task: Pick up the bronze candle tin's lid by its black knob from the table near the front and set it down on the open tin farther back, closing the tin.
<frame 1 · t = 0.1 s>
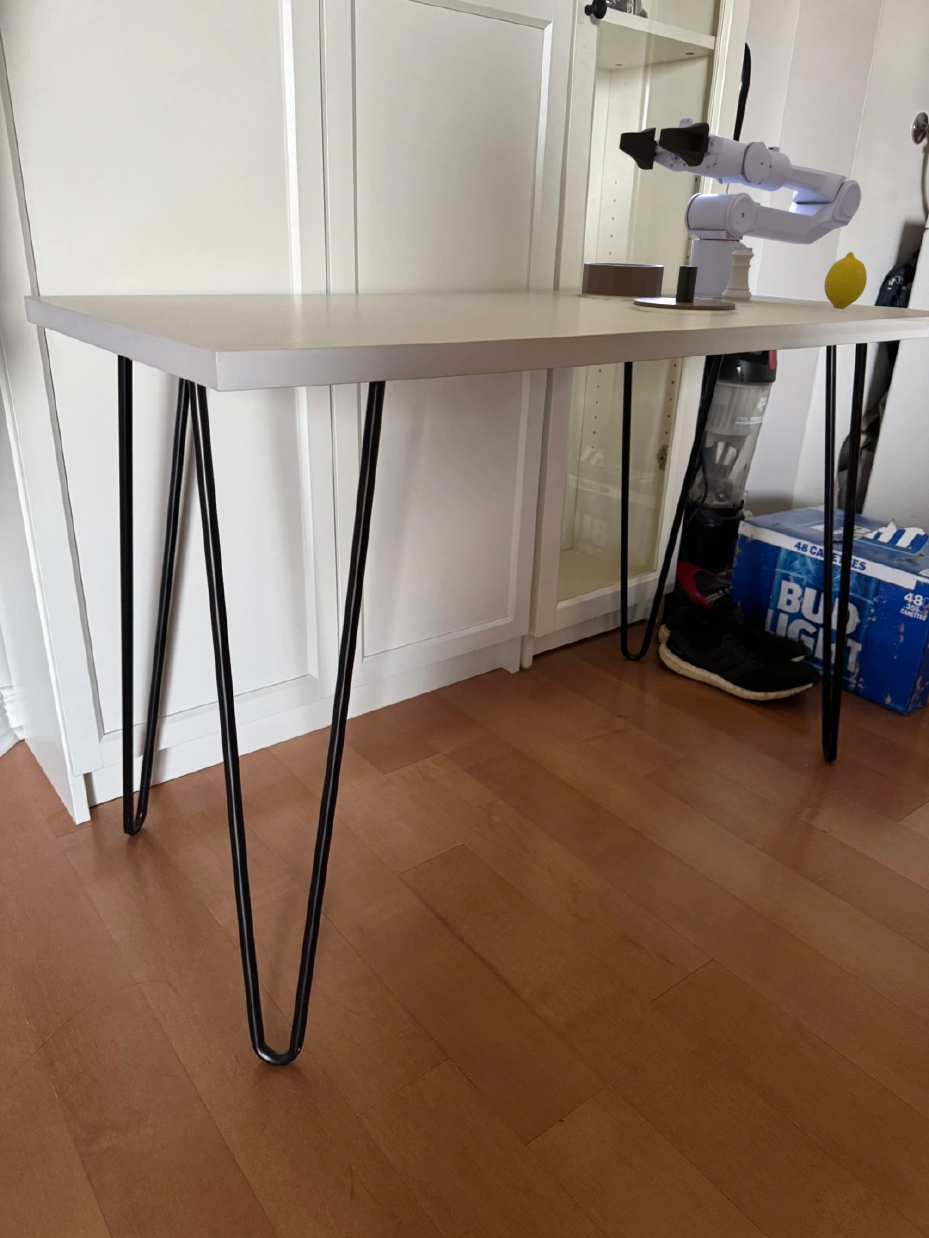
hand: (641, 139, 126), 22 cm above the table, tool horizontal, fingers open, 7 cm apart
tin lid: (683, 305, 120), point 1 cm above the table
rook chess piece: (734, 307, 132), on the table
fruit: (839, 312, 129), on the table
tin: (620, 297, 140), on the table
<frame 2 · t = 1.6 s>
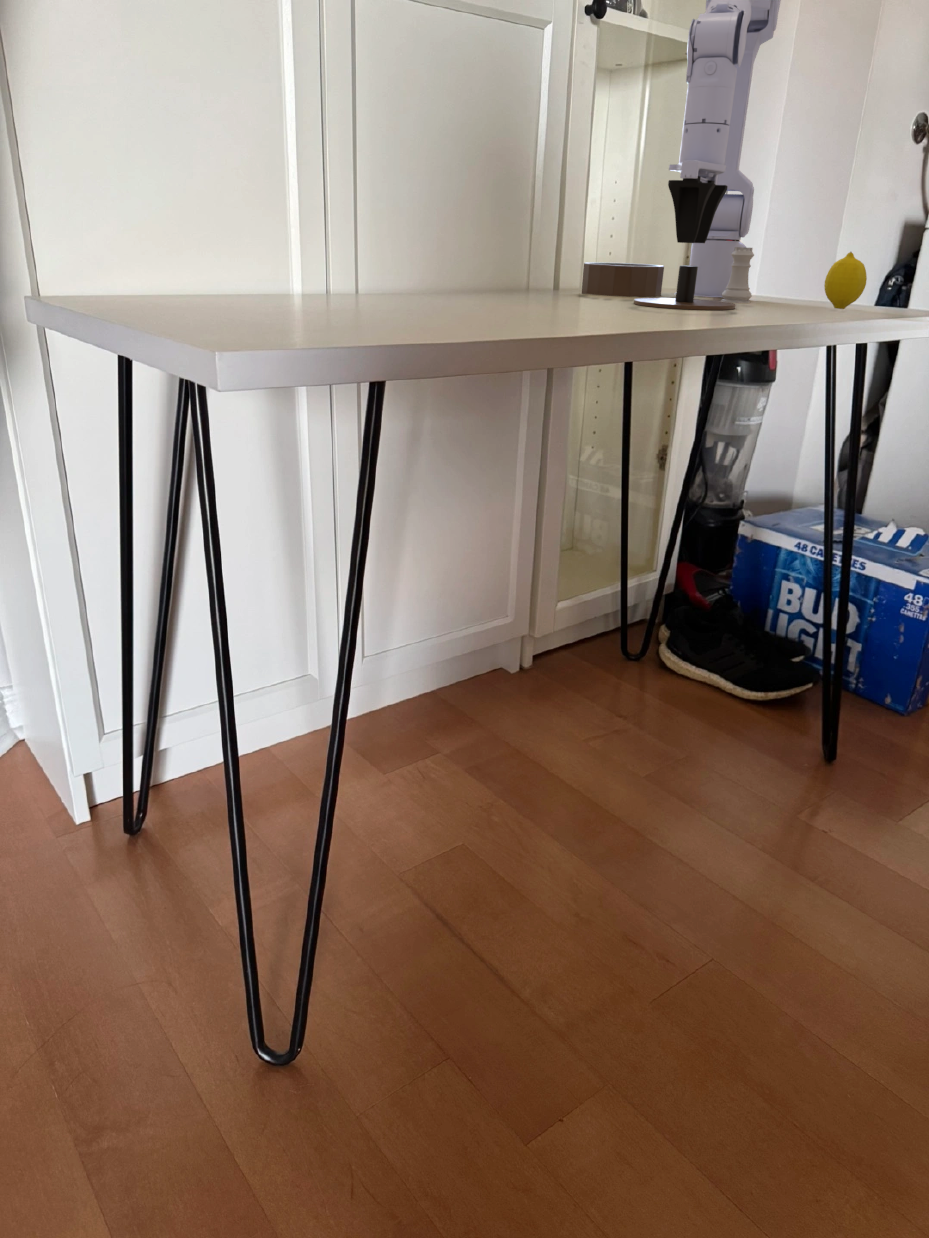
hand: (691, 243, 117), 8 cm above the table, tool pointing down, fingers open, 7 cm apart
nothing on the table moved.
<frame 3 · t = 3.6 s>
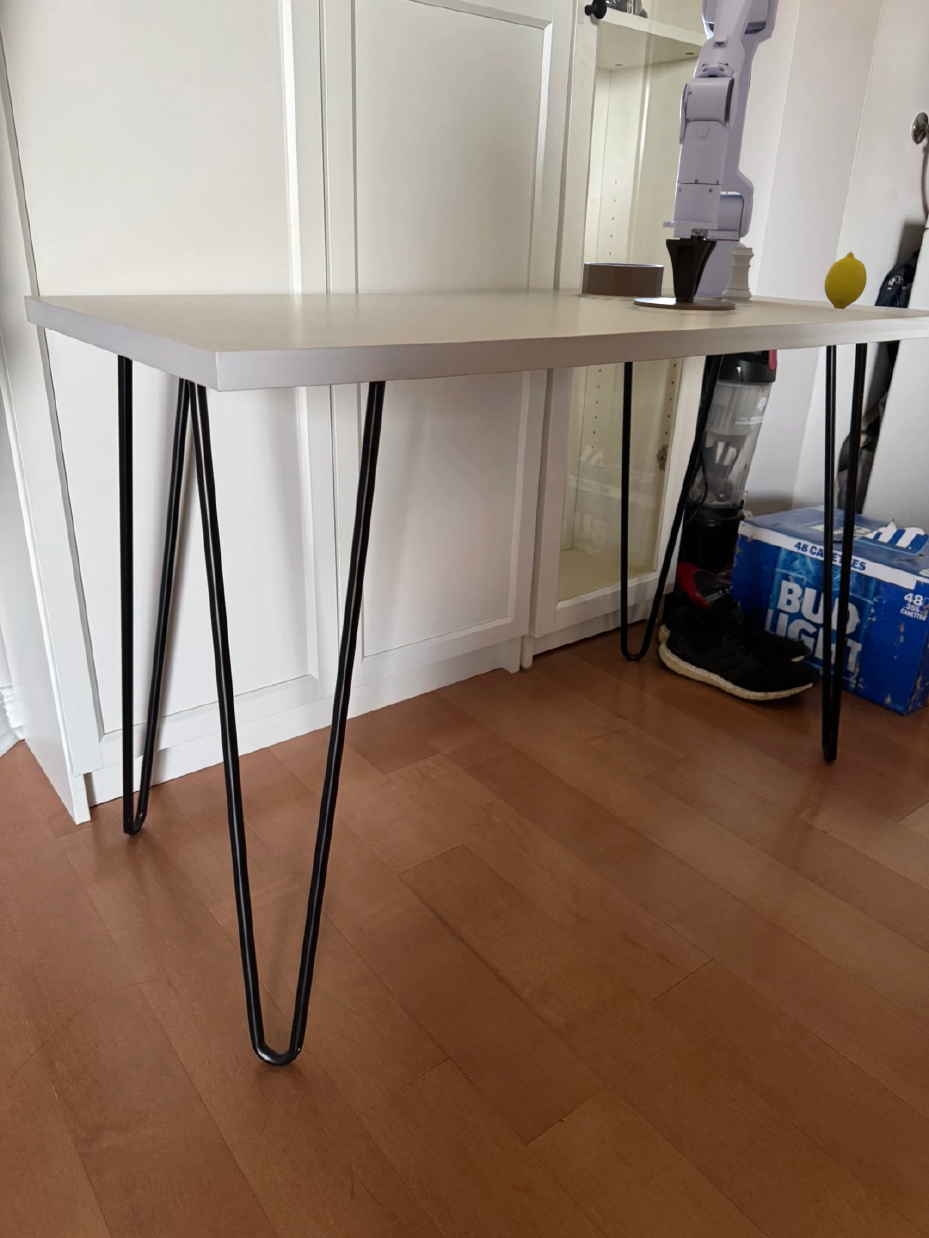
hand: (684, 297, 119), 2 cm above the table, tool pointing down, fingers closed on tin lid, 2 cm apart
tin lid: (683, 305, 120), point 1 cm above the table, touching gripper
everything else where it was.
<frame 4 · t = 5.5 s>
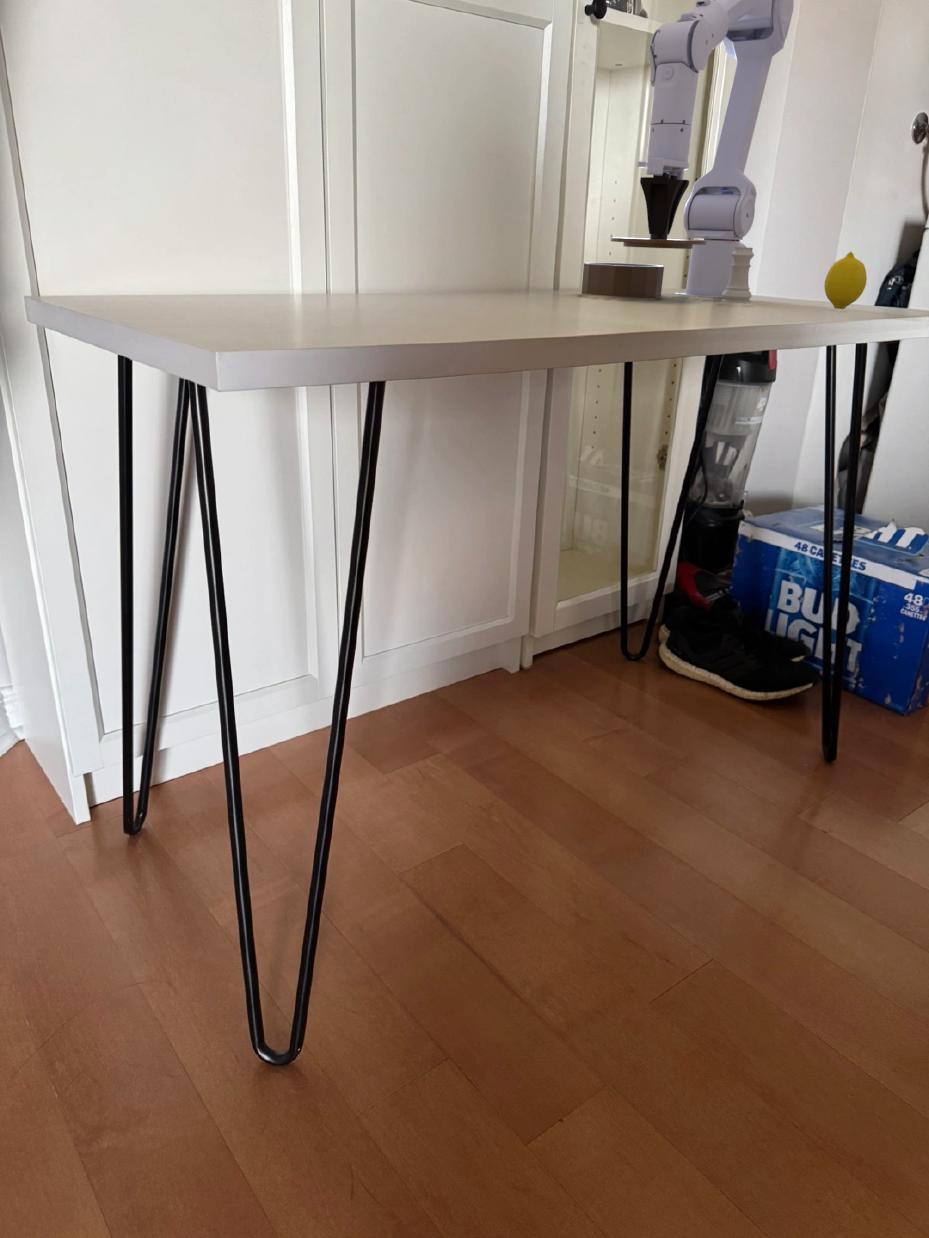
hand: (659, 234, 126), 9 cm above the table, tool pointing down, fingers closed on tin lid, 2 cm apart
tin lid: (658, 243, 126), point 8 cm above the table, touching gripper
everything else where it was.
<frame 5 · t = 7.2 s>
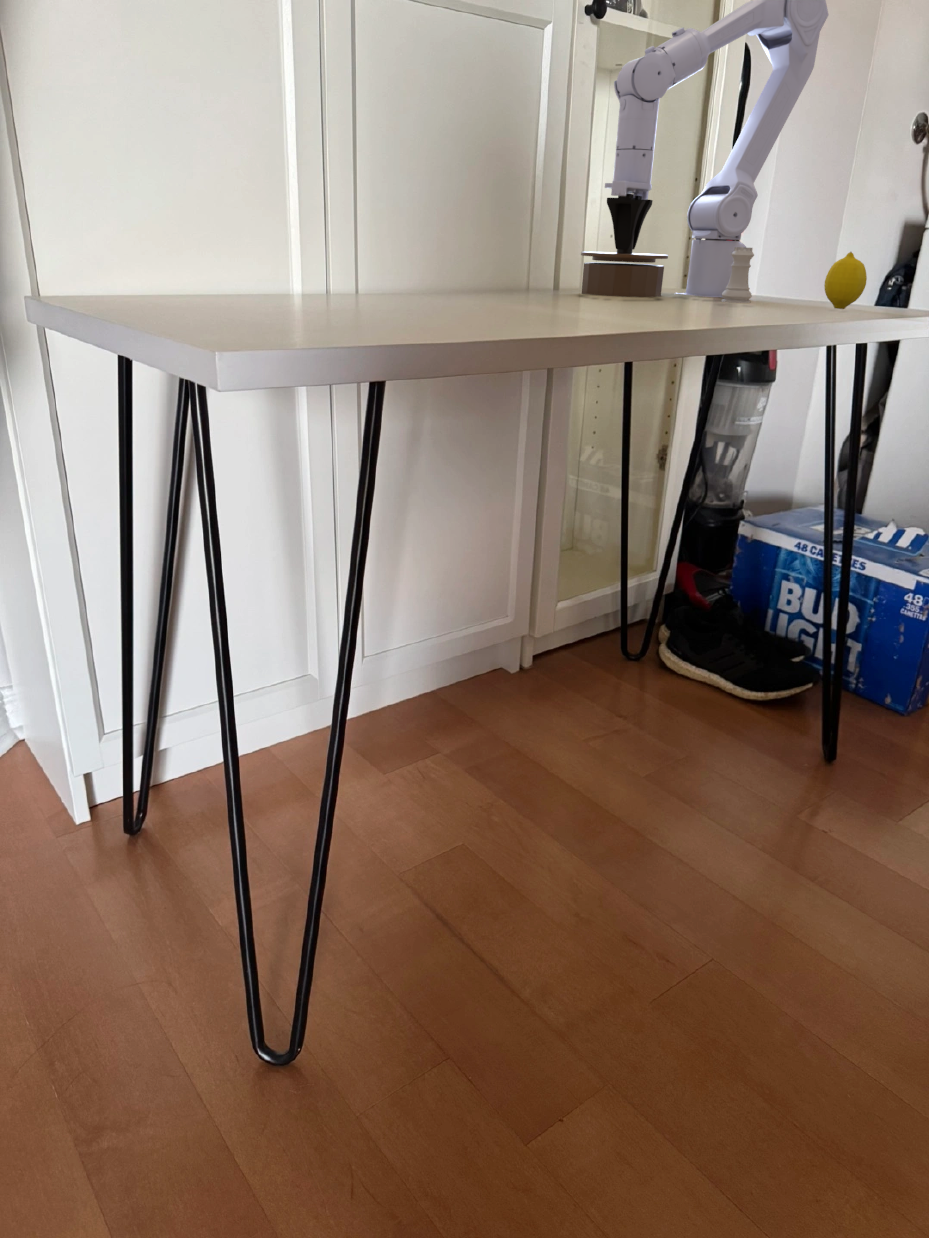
hand: (625, 249, 138), 7 cm above the table, tool pointing down, fingers closed on tin lid, 2 cm apart
tin lid: (624, 257, 138), point 6 cm above the table, touching gripper
everything else where it was.
when the fingers open (6 cm above the table, at t = 7.8 s): tin lid stays where it is, resting on tin.
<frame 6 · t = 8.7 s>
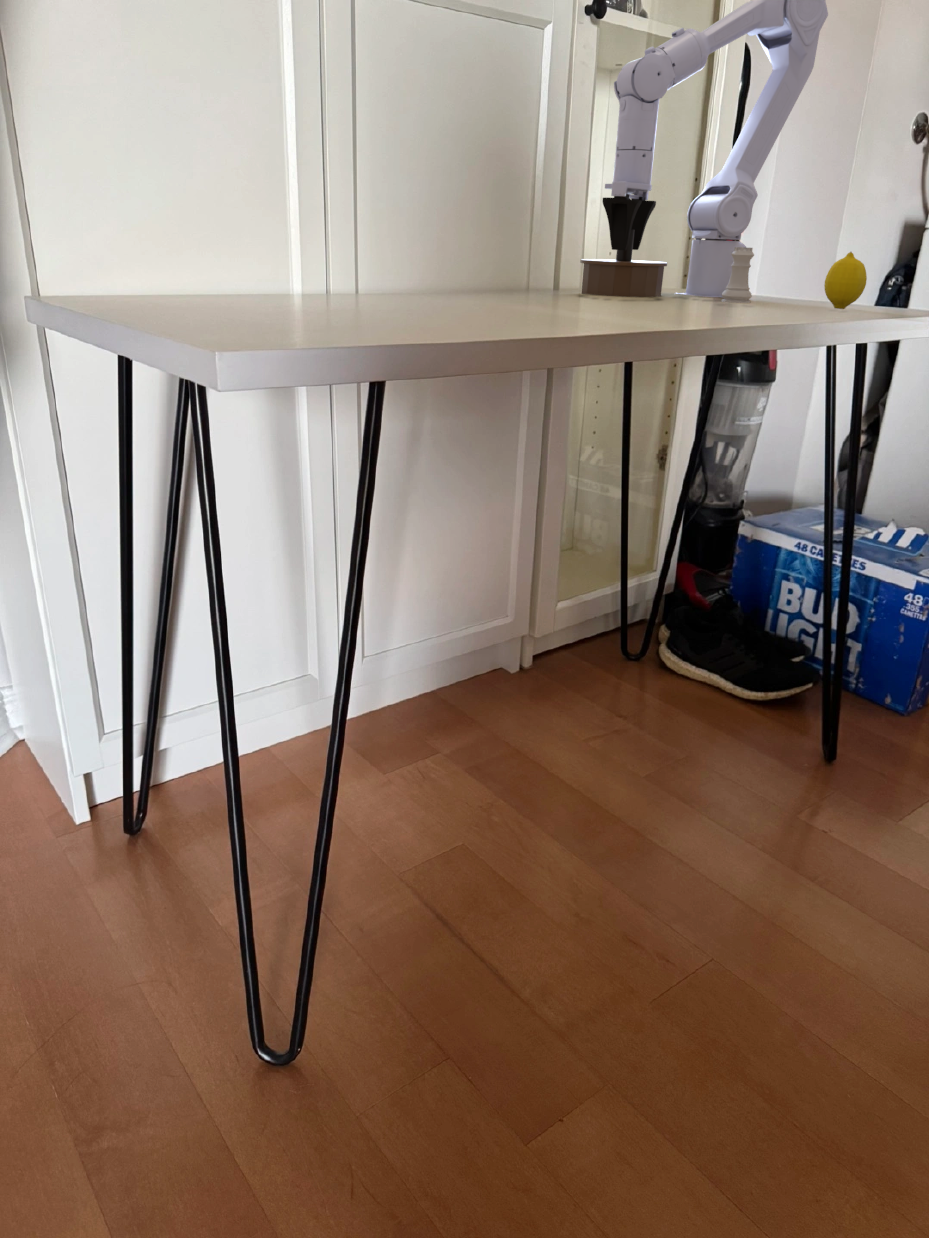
hand: (625, 250, 138), 7 cm above the table, tool pointing down, fingers open, 7 cm apart
tin lid: (623, 264, 138), point 5 cm above the table, touching tin
everything else where it was.
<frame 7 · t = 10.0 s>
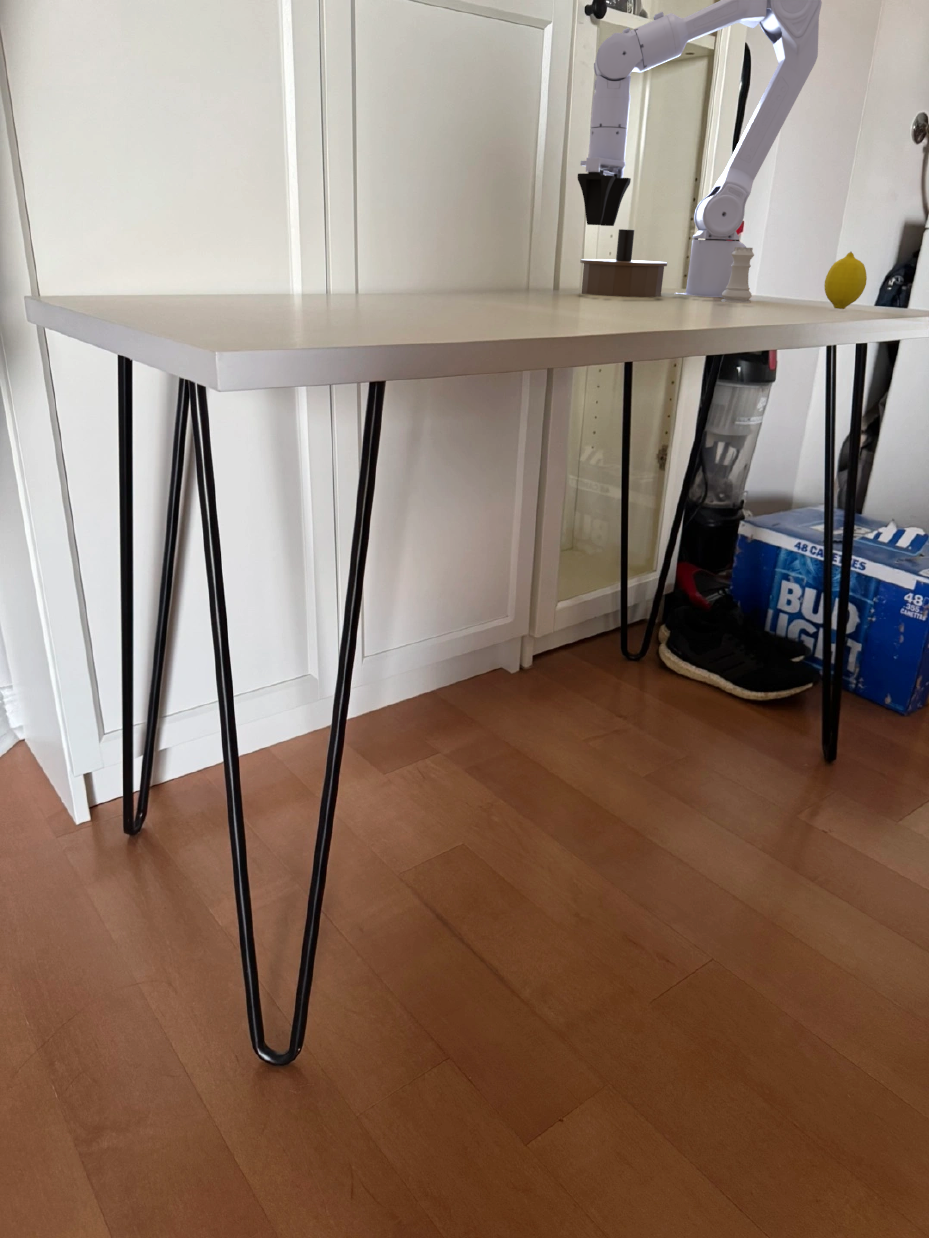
hand: (600, 225, 142), 10 cm above the table, tool pointing down, fingers open, 7 cm apart
nothing on the table moved.
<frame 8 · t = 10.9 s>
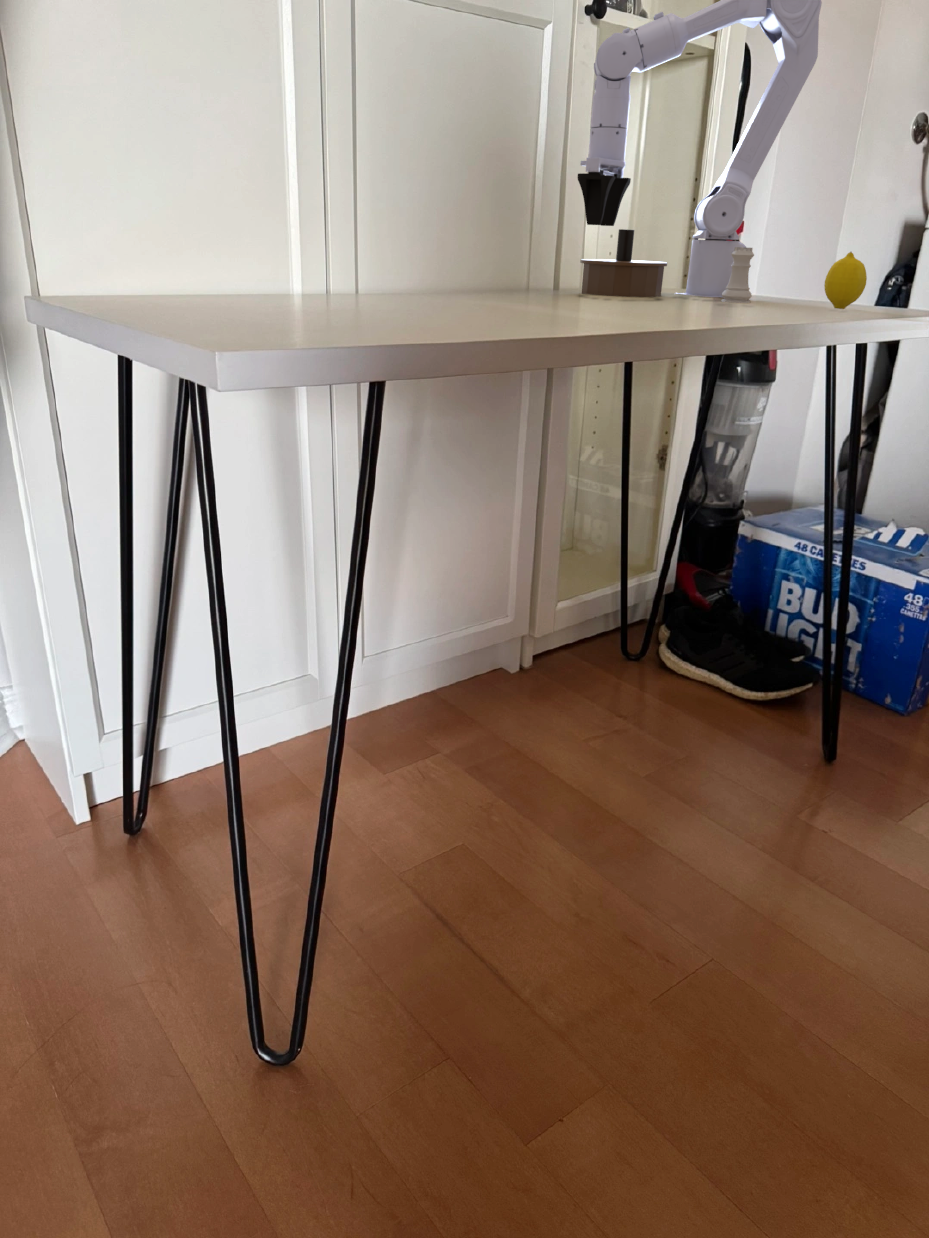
hand: (600, 225, 142), 10 cm above the table, tool pointing down, fingers open, 7 cm apart
nothing on the table moved.
at the end: tin lid 0.1 cm off-centre on the tin, point 4.9 cm above the tin's base; tin lid tilted 0° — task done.
